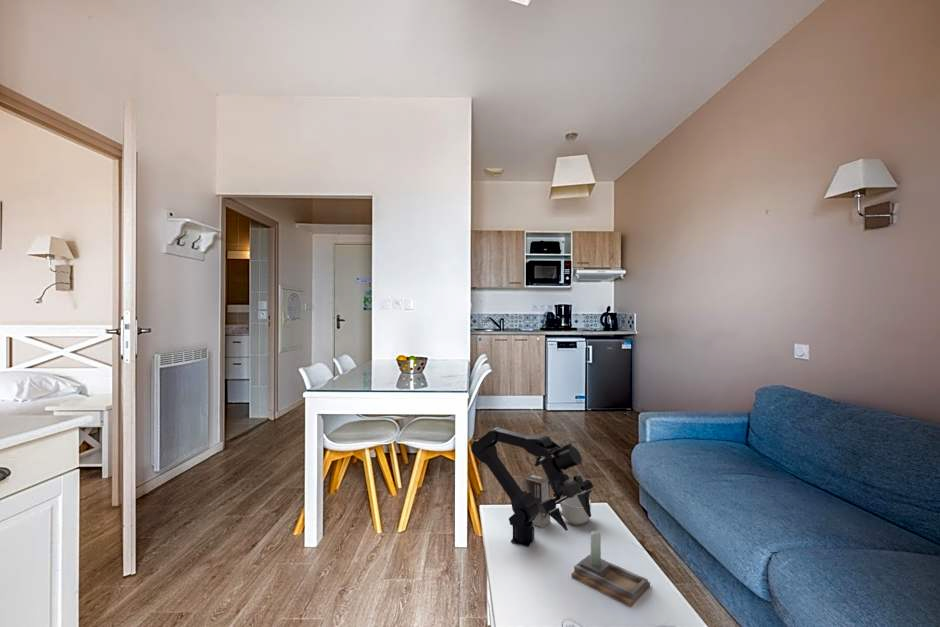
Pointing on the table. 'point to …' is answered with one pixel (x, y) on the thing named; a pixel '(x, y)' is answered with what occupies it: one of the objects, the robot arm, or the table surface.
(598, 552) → the fader knob
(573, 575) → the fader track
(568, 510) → the teacup
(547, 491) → the coffee box
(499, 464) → the robot arm
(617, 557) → the table surface
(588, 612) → the table surface
